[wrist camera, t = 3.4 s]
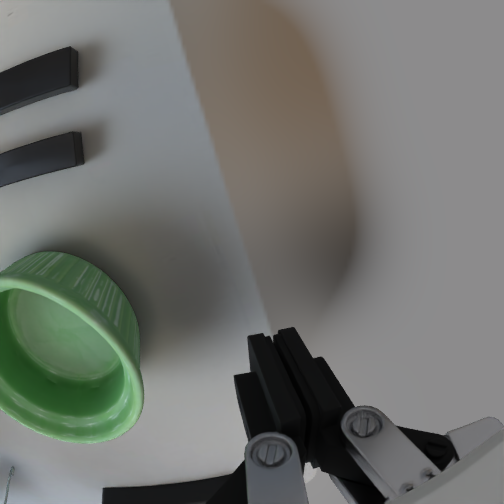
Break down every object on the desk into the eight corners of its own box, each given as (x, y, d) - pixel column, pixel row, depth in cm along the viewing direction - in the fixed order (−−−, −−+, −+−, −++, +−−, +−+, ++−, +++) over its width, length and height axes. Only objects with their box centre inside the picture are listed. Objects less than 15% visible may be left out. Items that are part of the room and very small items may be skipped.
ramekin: (135, 229, 12) (114, 271, 8) (162, 385, 16) (163, 447, 12) (-22, 245, 11) (-70, 282, 6) (29, 382, 14) (9, 433, 10)
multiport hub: (100, 487, 19) (99, 507, 17) (250, 470, 21) (256, 491, 19) (123, 504, 21) (123, 521, 19) (259, 487, 23) (264, 505, 20)
